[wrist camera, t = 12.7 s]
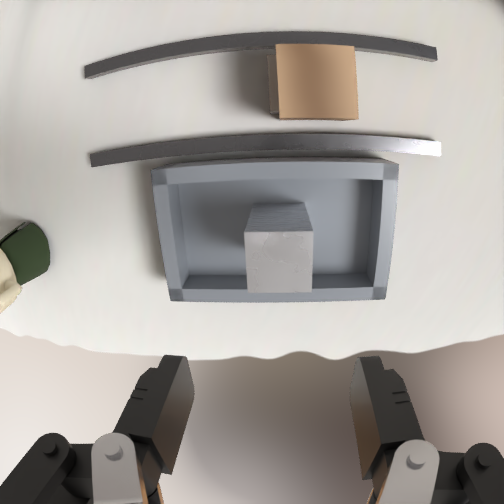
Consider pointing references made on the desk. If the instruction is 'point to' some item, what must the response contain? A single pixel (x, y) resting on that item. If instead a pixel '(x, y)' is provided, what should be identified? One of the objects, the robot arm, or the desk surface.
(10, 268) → the character mug
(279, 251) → the stop block
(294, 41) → the slide rails
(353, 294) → the tray
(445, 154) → the desk surface
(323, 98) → the slider
